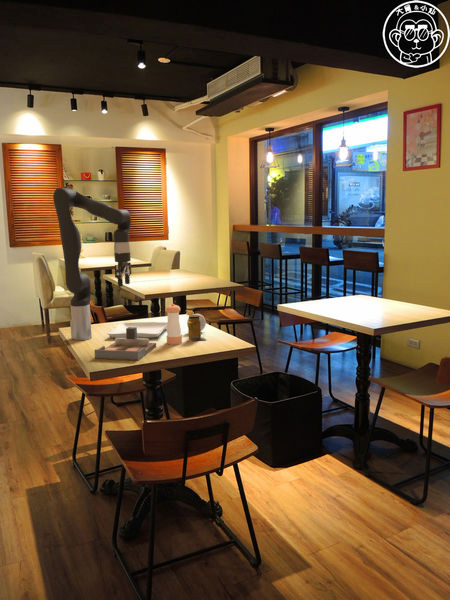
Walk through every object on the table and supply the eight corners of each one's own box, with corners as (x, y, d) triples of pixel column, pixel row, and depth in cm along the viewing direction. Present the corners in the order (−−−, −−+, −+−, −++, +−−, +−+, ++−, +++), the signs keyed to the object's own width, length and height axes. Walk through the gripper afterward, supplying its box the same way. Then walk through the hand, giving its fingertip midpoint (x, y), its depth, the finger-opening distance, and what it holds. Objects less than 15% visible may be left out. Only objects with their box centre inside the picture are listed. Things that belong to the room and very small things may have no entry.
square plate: (171, 328, 287) (170, 321, 287) (160, 340, 260) (159, 332, 260) (123, 328, 290) (122, 321, 289) (107, 340, 263) (106, 332, 262)
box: (95, 358, 228) (94, 349, 228) (103, 353, 237) (103, 345, 236) (138, 360, 224) (137, 351, 223) (145, 355, 232) (145, 346, 232)
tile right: (124, 356, 229) (124, 351, 228) (128, 353, 234) (128, 348, 233) (135, 357, 228) (134, 351, 227) (139, 354, 233) (139, 348, 232)
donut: (188, 333, 272) (187, 314, 270) (186, 332, 275) (186, 313, 273) (206, 332, 275) (206, 313, 273) (205, 330, 278) (204, 312, 276)
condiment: (186, 338, 262) (186, 315, 260) (203, 337, 264) (202, 313, 262) (189, 341, 255) (188, 317, 253) (206, 340, 257) (205, 316, 255)
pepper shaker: (181, 344, 250) (179, 304, 247) (166, 344, 250) (164, 305, 247) (182, 340, 257) (180, 302, 254) (167, 341, 257) (165, 302, 254)
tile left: (103, 355, 231) (102, 350, 231) (108, 352, 236) (107, 347, 235) (113, 356, 230) (113, 350, 229) (118, 353, 235) (118, 347, 234)
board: (103, 353, 237) (103, 349, 237) (116, 345, 250) (116, 341, 250) (145, 355, 233) (145, 350, 232) (156, 347, 246) (156, 342, 246)
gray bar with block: (114, 345, 244) (113, 328, 242) (117, 343, 246) (116, 326, 245) (147, 346, 240) (146, 329, 239) (149, 344, 243) (148, 327, 242)
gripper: (120, 250, 258) (122, 283, 261) (108, 252, 244) (110, 287, 247) (135, 250, 256) (136, 283, 259) (123, 252, 243) (125, 287, 245)
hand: (124, 285), depth 253 cm, fingers open, 8 cm apart
